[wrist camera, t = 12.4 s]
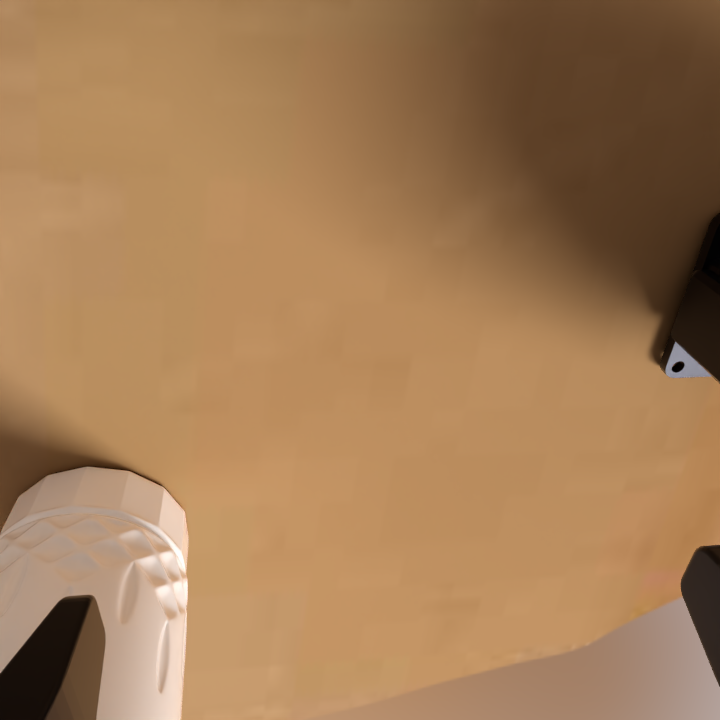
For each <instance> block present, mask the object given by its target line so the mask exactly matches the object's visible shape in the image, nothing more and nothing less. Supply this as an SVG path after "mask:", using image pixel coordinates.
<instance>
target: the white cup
mask: <svg viewBox="0 0 720 720" xmlns="http://www.w3.org/2000/svg"><path fill="white" fill-rule="evenodd" d="M188 541H189V538H188V530H187V523H186V516H185V511H184V510H183V509H182V508H181V506H180V505H179V504H178V503H177V502H176V501H175V500H174V498H173V497H172V496H171V495H170V494H169V493H168V492H167V490H166V489H165V488H164V487H162V486H160V485H158V484H156V483H154V482H152V481H149V480H147V479H145V478H143V477H141V476H139V475H137V474H135V473H132V472H130V471H125V470H116V469H107V468H97V467H82V468H78V469H73V470H69V471H64V472H60V473H55V474H51V475H47V476H46V477H44V478H43V479H42V480H40V481H39V482H38V483H36V484H35V485H34V486H32V487H31V488H29V489H28V490H27V491H25V492H24V493H23V494H21V495H20V496H19V497H18V499H17V501H16V503H15V505H14V507H13V509H12V511H11V513H10V515H9V517H8V519H7V520H6V522H5V524H4V526H3V528H2V530H1V532H0V673H1V672H2V670H3V669H4V668H5V667H6V665H7V664H8V663H9V662H10V660H11V659H12V658H13V657H14V656H15V654H16V653H17V652H18V651H19V649H20V648H21V647H22V646H23V644H24V643H25V642H26V641H27V639H28V638H29V637H30V636H31V635H32V633H33V632H34V631H35V630H36V628H37V627H38V626H39V625H40V623H41V622H42V621H43V620H44V618H45V617H46V616H47V615H48V614H49V612H50V611H51V610H52V609H53V607H54V606H55V605H56V604H57V602H58V601H59V600H61V599H62V598H64V597H67V596H77V595H93V596H94V597H95V598H96V601H97V604H98V607H99V611H100V614H101V618H102V621H103V625H104V628H105V635H106V644H105V653H104V661H103V669H102V677H101V685H100V693H99V701H98V708H97V716H96V720H181V714H182V698H183V682H184V667H185V651H186V629H187V594H188V581H187V576H186V568H187V555H188Z"/></svg>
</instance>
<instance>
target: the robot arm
mask: <svg viewBox="0 0 720 720" xmlns="http://www.w3.org/2000/svg"><path fill="white" fill-rule="evenodd" d="M676 362H678V363H677V364H676V365H675V366H673V365H674V364H675V363H676ZM660 368H661V370H662V371H663V372H664V373H665V374H666V375H667V376H669V377H672V378H684V377H709V376H712V377H713V378H714V379H715V380H716V381H718V382H719V383H720V213H719V214H718V215H716V216H715V217H714V218H713V219H712V221H711V223H710V225H709V228H708V231H707V233H706V236H705V239H704V242H703V245H702V247H701V250H700V253H699V256H698V258H697V261H696V264H695V267H694V270H693V272H692V275H691V278H690V281H689V284H688V286H687V289H686V292H685V295H684V297H683V300H682V303H681V306H680V309H679V311H678V314H677V317H676V320H675V323H674V325H673V328H672V331H671V334H670V336H669V339H668V342H667V345H666V348H665V350H664V353H663V356H662V359H661V362H660ZM681 592H682V596H683V598H684V601H685V603H686V606H687V608H688V611H689V613H690V616H691V618H692V621H693V623H694V626H695V628H696V630H697V633H698V635H699V638H700V640H701V643H702V645H703V648H704V650H705V652H706V655H707V658H708V660H709V663H710V665H711V667H712V670H713V672H714V675H715V677H716V679H717V682H718V684H719V686H720V545H710V546H701V547H699V548H697V549H696V551H695V552H694V554H693V556H692V558H691V560H690V562H689V564H688V566H687V568H686V570H685V573H684V575H683V577H682V579H681ZM105 644H106V635H105V628H104V625H103V621H102V618H101V614H100V611H99V607H98V604H97V601H96V598H95V597H94V596H93V595H77V596H67V597H64V598H62V599H61V600H59V601H58V602H57V604H56V605H55V606H54V607H53V609H52V610H51V611H50V612H49V614H48V615H47V616H46V617H45V618H44V620H43V621H42V622H41V623H40V625H39V626H38V627H37V628H36V630H35V631H34V632H33V633H32V635H31V636H30V637H29V638H28V639H27V641H26V642H25V643H24V644H23V646H22V647H21V648H20V649H19V651H18V652H17V653H16V654H15V656H14V657H13V658H12V659H11V660H10V662H9V663H8V664H7V665H6V667H5V668H4V669H3V670H2V672H1V673H0V720H96V716H97V708H98V701H99V693H100V685H101V677H102V669H103V661H104V653H105Z"/></svg>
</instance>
